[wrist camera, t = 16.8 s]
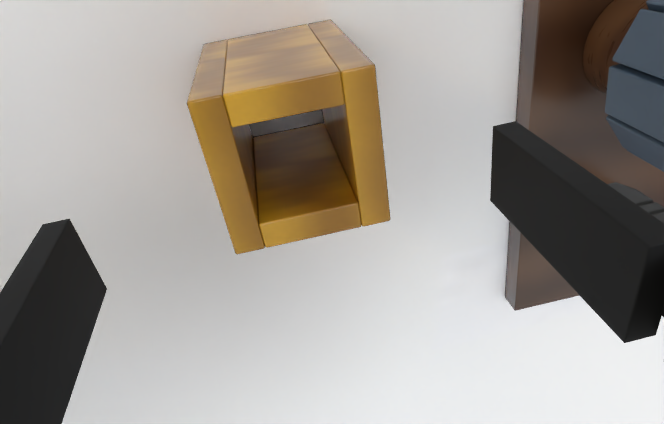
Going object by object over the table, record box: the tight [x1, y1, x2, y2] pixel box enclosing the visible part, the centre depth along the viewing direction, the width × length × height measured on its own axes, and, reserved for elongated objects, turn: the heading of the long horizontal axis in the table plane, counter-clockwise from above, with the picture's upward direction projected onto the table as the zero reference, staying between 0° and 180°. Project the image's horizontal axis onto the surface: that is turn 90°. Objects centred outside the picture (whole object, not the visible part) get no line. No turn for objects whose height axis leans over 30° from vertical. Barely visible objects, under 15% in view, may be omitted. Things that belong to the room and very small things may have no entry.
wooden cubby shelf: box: [187, 20, 390, 254], centre depth 21 cm, size 6×6×9 cm
